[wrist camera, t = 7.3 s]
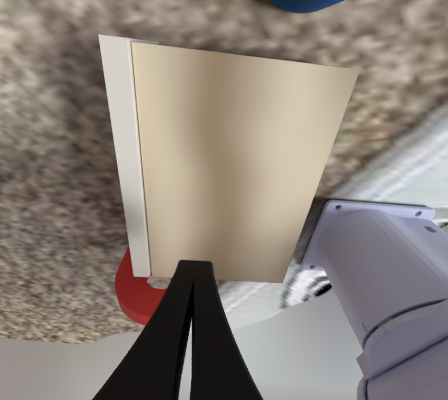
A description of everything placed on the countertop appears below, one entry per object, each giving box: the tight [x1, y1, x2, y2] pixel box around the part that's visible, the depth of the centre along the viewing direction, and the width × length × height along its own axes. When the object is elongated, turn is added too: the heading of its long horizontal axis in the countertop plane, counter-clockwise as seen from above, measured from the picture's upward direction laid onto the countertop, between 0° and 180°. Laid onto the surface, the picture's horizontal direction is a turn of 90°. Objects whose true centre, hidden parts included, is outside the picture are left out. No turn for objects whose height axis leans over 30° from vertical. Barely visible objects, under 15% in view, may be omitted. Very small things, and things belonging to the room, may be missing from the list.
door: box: [98, 34, 159, 277], centre depth 14 cm, size 1×13×6 cm, turn 174°
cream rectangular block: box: [131, 42, 360, 283], centre depth 15 cm, size 9×13×6 cm
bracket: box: [115, 247, 167, 325], centre depth 19 cm, size 12×4×8 cm, turn 85°
